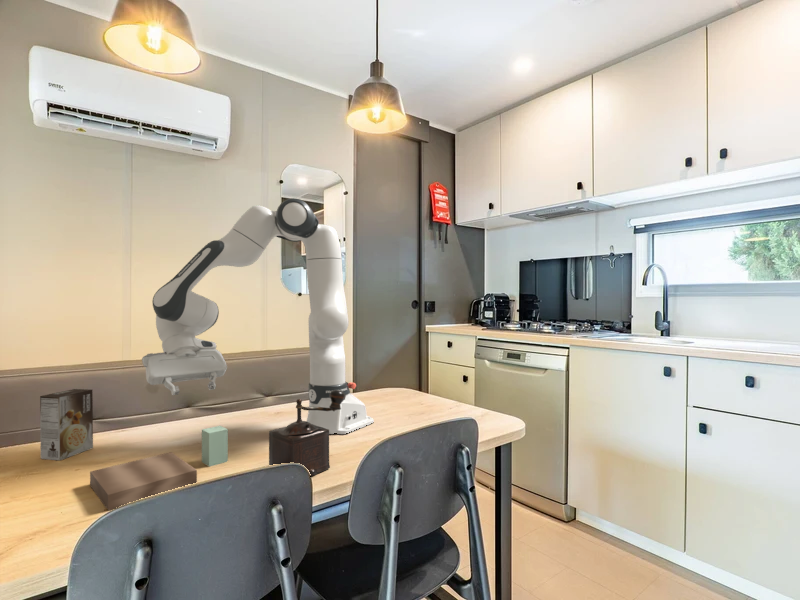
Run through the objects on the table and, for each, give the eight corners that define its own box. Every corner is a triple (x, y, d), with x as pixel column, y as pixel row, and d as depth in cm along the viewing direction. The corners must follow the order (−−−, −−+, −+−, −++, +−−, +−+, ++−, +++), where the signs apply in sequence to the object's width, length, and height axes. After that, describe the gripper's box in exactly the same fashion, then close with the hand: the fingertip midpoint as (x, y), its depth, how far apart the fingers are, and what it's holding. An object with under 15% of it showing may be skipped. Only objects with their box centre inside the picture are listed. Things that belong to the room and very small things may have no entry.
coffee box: (74, 447, 113) (74, 388, 113) (93, 448, 112) (94, 389, 112) (38, 459, 104) (39, 395, 104) (59, 461, 103) (60, 396, 103)
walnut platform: (171, 464, 100) (171, 452, 100) (196, 483, 89) (196, 469, 89) (90, 485, 89) (90, 471, 89) (108, 510, 78) (108, 494, 78)
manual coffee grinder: (294, 484, 89) (293, 400, 89) (267, 470, 97) (267, 393, 97) (349, 463, 100) (349, 389, 101) (321, 452, 108) (321, 384, 108)
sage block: (219, 457, 105) (220, 425, 105) (227, 461, 102) (227, 429, 102) (201, 461, 102) (201, 429, 102) (209, 466, 99) (209, 433, 99)
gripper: (143, 346, 108) (154, 389, 102) (220, 342, 123) (235, 378, 117) (137, 362, 111) (148, 404, 105) (214, 355, 126) (228, 392, 119)
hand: (194, 390), depth 111 cm, fingers open, 8 cm apart
